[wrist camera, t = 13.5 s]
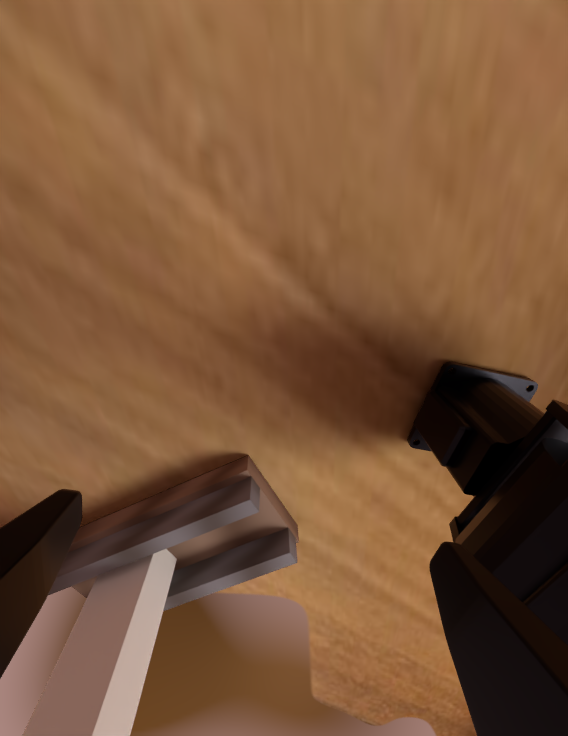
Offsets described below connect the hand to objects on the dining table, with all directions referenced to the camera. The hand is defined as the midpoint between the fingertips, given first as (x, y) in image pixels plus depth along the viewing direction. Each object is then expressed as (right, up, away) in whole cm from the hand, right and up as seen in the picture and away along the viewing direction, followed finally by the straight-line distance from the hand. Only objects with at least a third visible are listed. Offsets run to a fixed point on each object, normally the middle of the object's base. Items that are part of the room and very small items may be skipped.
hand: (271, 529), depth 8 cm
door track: (-8, -9, +18) cm, 22 cm away
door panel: (-11, -11, +17) cm, 23 cm away
